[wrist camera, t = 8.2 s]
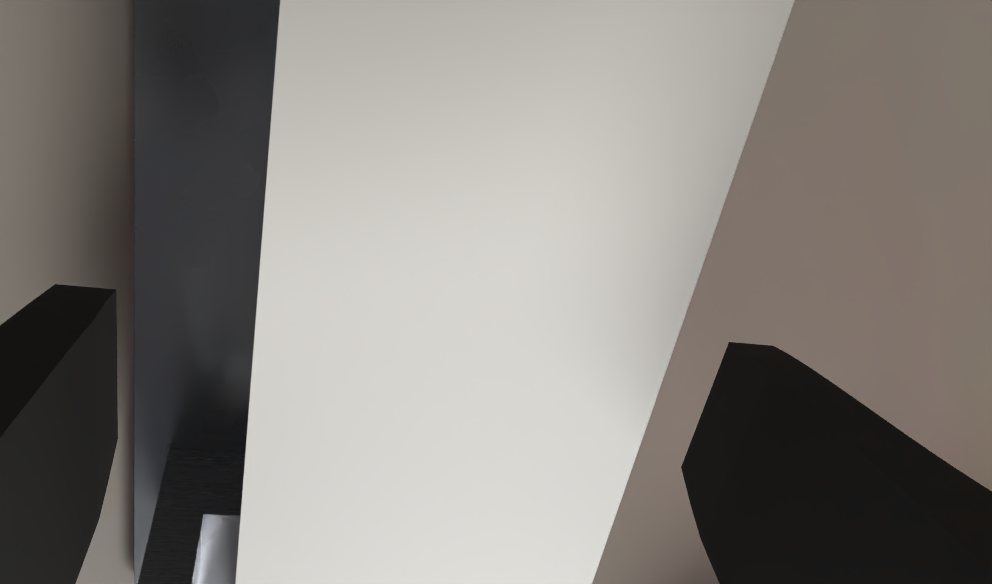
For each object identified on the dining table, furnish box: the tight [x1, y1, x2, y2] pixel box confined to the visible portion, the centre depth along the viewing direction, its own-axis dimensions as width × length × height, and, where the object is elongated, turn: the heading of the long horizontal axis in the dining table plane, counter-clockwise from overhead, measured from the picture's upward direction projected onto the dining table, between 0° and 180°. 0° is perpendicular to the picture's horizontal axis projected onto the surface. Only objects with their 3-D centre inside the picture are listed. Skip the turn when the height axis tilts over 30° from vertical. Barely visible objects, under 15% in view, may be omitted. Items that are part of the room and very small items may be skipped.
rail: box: [235, 0, 795, 584], centre depth 12 cm, size 4×18×5 cm, turn 169°
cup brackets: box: [134, 0, 280, 584], centre depth 14 cm, size 8×20×5 cm, turn 169°
